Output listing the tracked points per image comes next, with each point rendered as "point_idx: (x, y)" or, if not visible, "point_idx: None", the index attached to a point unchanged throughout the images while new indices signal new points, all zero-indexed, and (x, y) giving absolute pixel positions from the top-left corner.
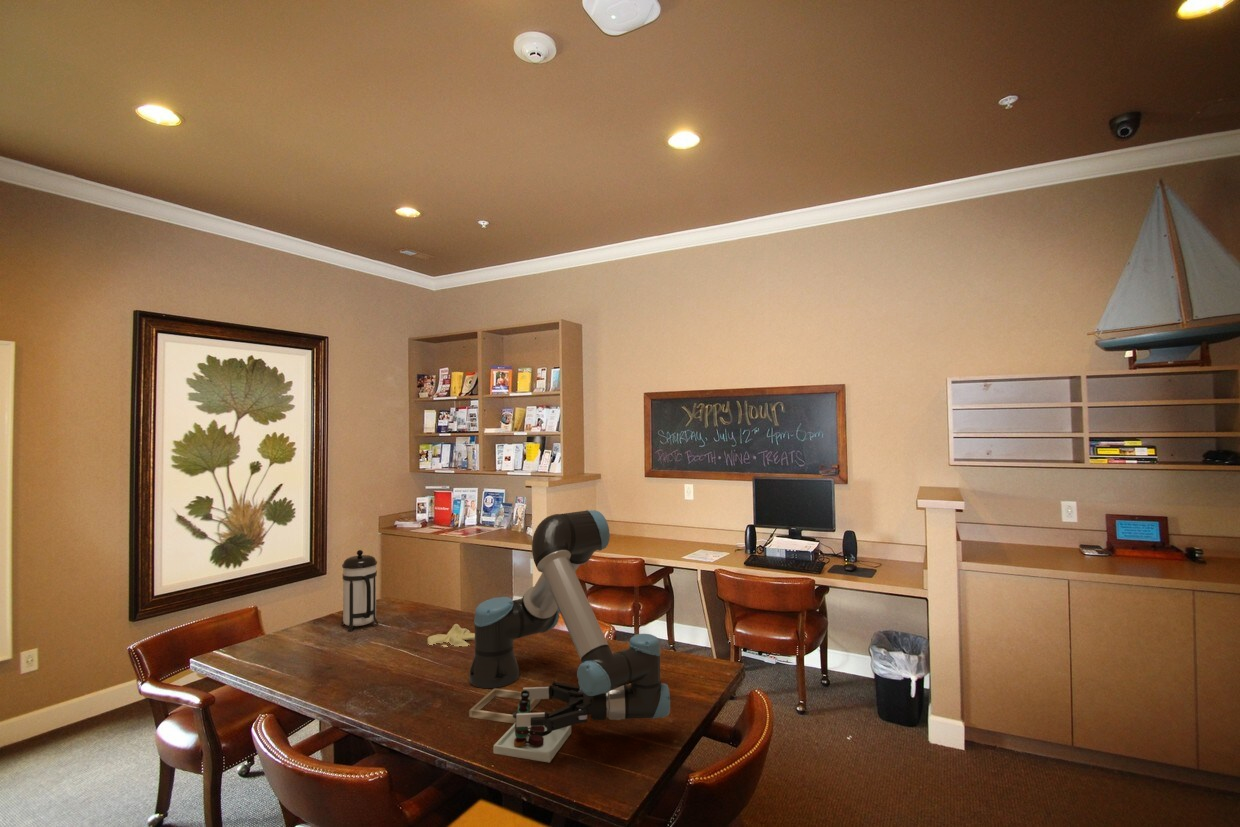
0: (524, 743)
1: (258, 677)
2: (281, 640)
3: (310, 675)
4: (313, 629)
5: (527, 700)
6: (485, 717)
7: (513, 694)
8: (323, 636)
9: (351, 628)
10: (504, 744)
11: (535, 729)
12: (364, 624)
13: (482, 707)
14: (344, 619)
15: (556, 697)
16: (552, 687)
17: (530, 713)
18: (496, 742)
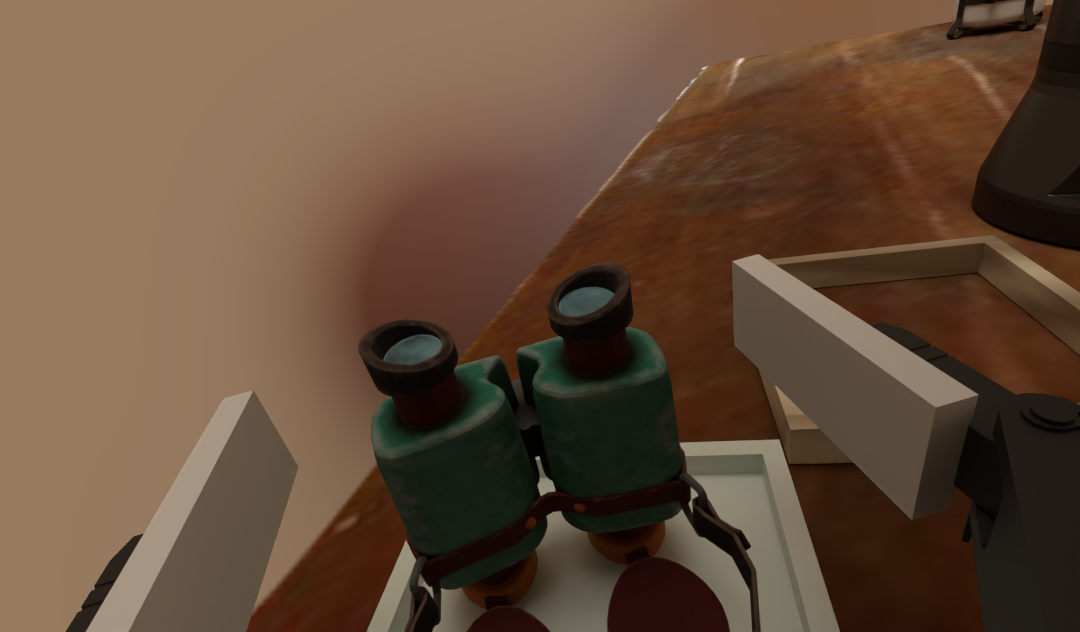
0: (477, 603)
1: (698, 89)
2: (828, 48)
3: (742, 96)
4: (901, 35)
5: (592, 364)
6: None
7: (1052, 306)
8: (892, 45)
9: (958, 32)
10: None
11: (640, 609)
12: (992, 23)
13: (833, 284)
14: (953, 11)
15: (988, 620)
16: (1024, 445)
17: (189, 486)
18: None
